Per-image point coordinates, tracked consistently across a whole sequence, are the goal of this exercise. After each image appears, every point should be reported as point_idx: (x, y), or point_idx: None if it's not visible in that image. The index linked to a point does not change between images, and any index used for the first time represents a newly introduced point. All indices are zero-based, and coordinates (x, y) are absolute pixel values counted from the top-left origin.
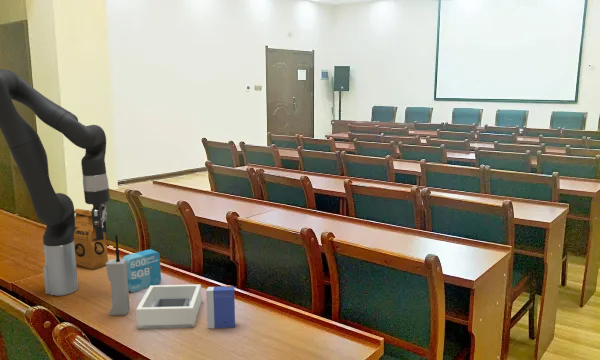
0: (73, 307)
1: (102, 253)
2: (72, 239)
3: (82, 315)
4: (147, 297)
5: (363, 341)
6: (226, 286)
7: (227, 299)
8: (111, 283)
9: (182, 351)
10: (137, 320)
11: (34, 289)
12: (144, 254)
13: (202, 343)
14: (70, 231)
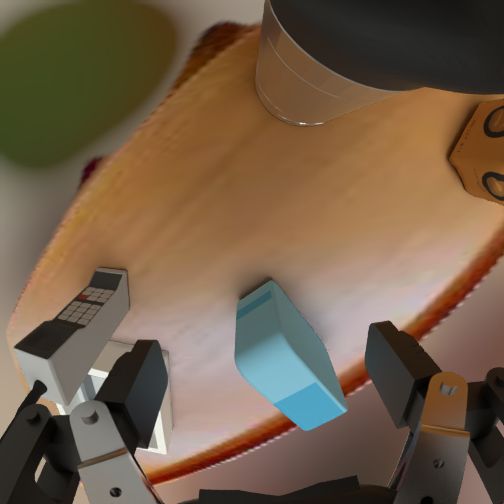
0: (157, 149)
1: (488, 192)
2: (366, 80)
3: (104, 193)
4: (90, 373)
5: None
6: (81, 481)
7: None
8: (54, 320)
9: (24, 377)
10: None
11: None
12: (286, 408)
13: (45, 401)
14: (408, 51)
